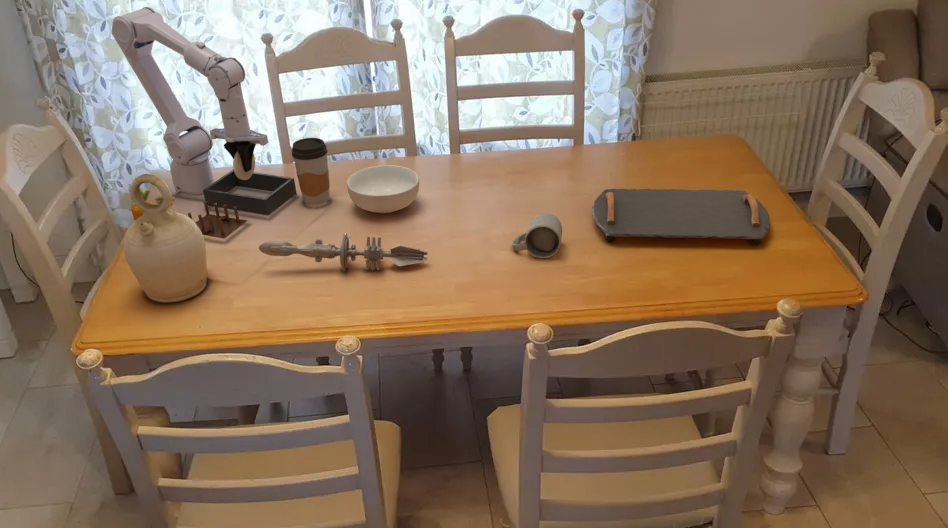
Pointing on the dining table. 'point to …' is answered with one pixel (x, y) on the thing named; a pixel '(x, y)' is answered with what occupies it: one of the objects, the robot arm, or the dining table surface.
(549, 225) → the ceramic mug
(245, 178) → the saucer
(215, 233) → the dish rack
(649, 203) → the serving tray
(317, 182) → the coffee cup
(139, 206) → the jug
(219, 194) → the dark grey open box
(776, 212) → the dining table surface
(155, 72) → the robot arm
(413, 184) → the cereal bowl
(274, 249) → the spaceship
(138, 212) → the carrot
